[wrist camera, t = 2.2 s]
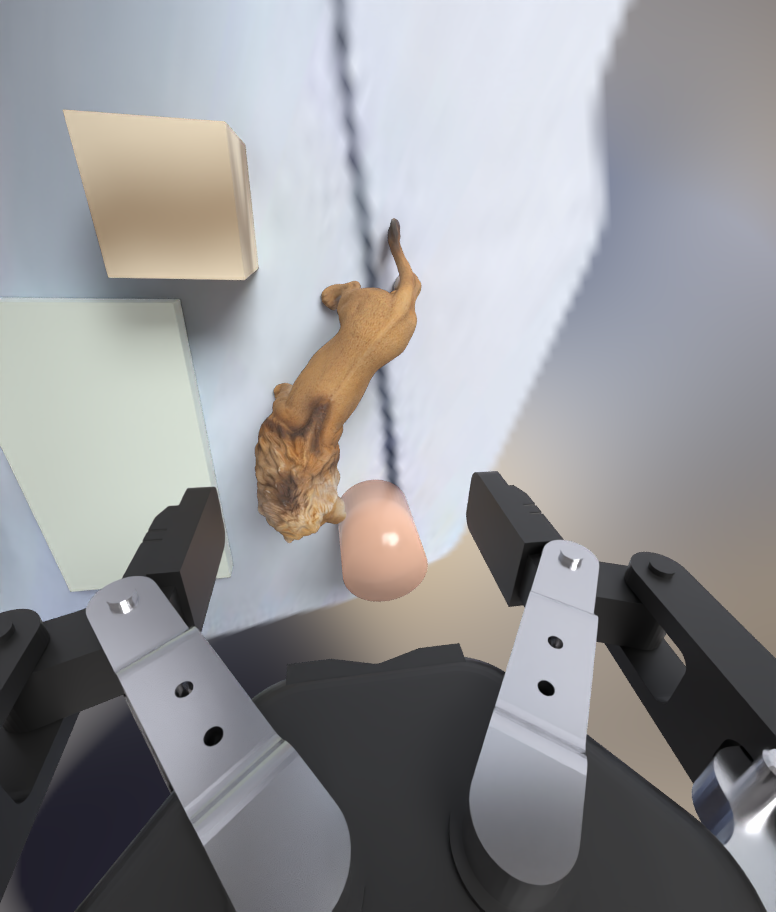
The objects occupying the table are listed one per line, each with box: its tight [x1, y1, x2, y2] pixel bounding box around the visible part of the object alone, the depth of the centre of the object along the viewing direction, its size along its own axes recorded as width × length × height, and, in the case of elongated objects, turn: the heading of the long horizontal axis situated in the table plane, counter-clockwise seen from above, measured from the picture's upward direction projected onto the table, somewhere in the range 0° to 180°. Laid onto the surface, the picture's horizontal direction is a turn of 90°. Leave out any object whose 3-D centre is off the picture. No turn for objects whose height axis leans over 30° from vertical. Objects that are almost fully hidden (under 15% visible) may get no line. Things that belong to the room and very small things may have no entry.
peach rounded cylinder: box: [338, 480, 428, 602], centre depth 27 cm, size 5×5×6 cm
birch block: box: [63, 110, 259, 280], centre depth 17 cm, size 5×5×5 cm
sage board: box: [0, 298, 233, 592], centre depth 24 cm, size 18×10×1 cm, turn 178°
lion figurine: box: [255, 218, 421, 543], centre depth 20 cm, size 15×5×9 cm, turn 155°
